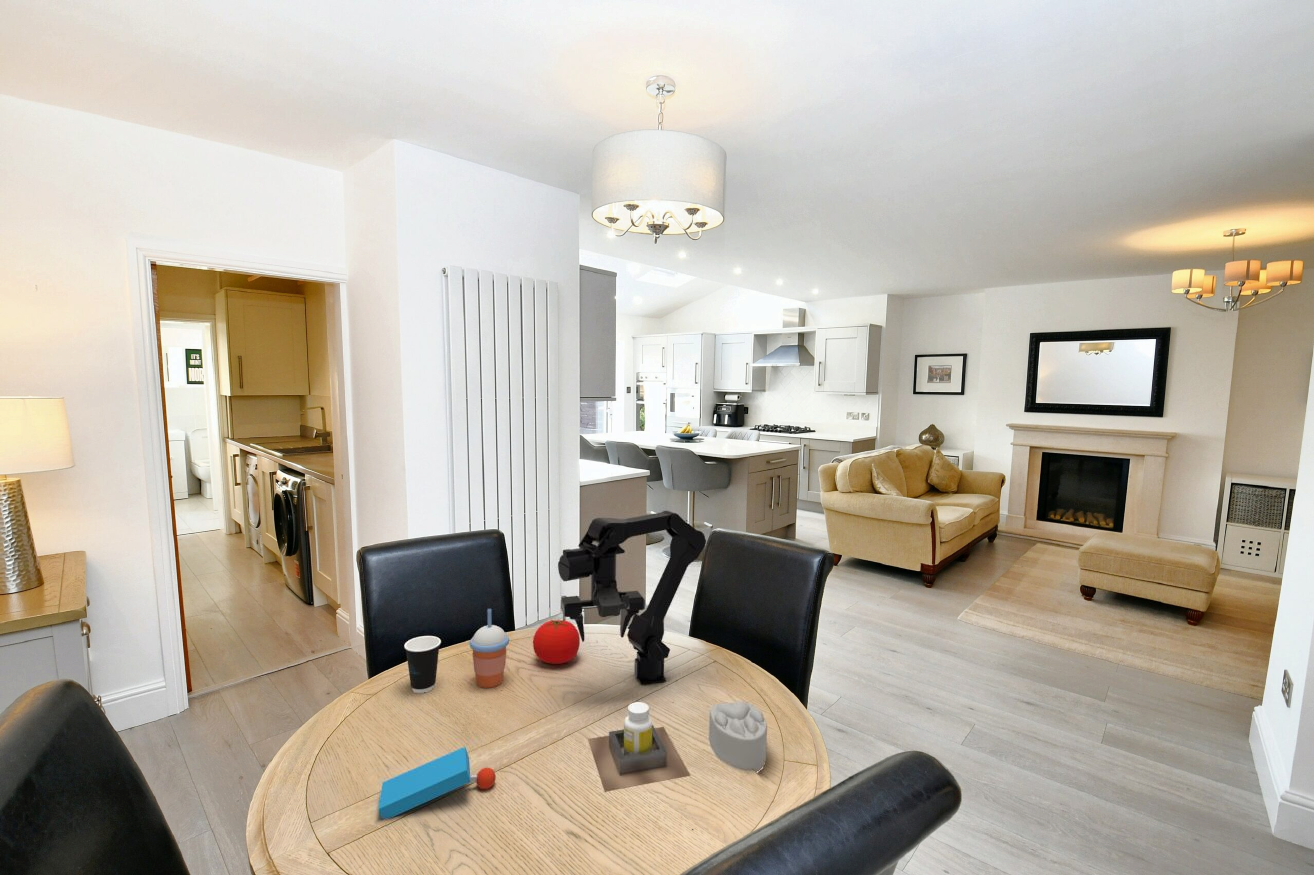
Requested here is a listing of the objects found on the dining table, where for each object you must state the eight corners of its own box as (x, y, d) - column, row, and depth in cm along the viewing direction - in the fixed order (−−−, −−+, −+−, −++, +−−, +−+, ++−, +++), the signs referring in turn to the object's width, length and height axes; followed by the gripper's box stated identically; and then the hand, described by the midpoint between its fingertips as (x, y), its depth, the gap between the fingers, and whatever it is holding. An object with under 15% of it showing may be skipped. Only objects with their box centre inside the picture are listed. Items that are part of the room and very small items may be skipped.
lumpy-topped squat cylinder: (751, 733, 124) (753, 693, 123) (776, 772, 111) (778, 729, 110) (703, 737, 122) (705, 697, 121) (723, 779, 109) (725, 734, 108)
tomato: (581, 650, 160) (581, 613, 159) (577, 671, 149) (578, 631, 148) (536, 650, 160) (536, 613, 159) (529, 671, 148) (529, 631, 147)
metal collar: (652, 738, 119) (652, 724, 118) (666, 766, 110) (666, 751, 110) (608, 746, 116) (608, 731, 116) (619, 775, 108) (619, 759, 107)
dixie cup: (399, 697, 135) (399, 650, 134) (411, 679, 143) (411, 635, 142) (435, 696, 135) (435, 650, 134) (445, 679, 143) (444, 635, 142)
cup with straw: (503, 691, 138) (503, 617, 136) (464, 690, 138) (463, 616, 136) (513, 673, 147) (513, 602, 145) (477, 672, 147) (476, 601, 146)
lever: (391, 844, 98) (499, 794, 103) (378, 809, 97) (487, 760, 102) (395, 815, 104) (496, 770, 110) (382, 782, 103) (485, 737, 108)
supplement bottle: (653, 749, 115) (654, 701, 115) (649, 766, 110) (650, 716, 109) (626, 746, 116) (627, 698, 115) (621, 763, 111) (621, 713, 110)
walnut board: (663, 732, 123) (663, 726, 123) (690, 781, 108) (690, 775, 108) (587, 744, 118) (587, 738, 118) (604, 797, 103) (604, 791, 103)
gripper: (568, 588, 126) (567, 659, 127) (652, 581, 131) (650, 649, 133) (561, 572, 136) (560, 637, 138) (639, 566, 142) (637, 629, 143)
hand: (602, 639), depth 137 cm, fingers open, 9 cm apart
